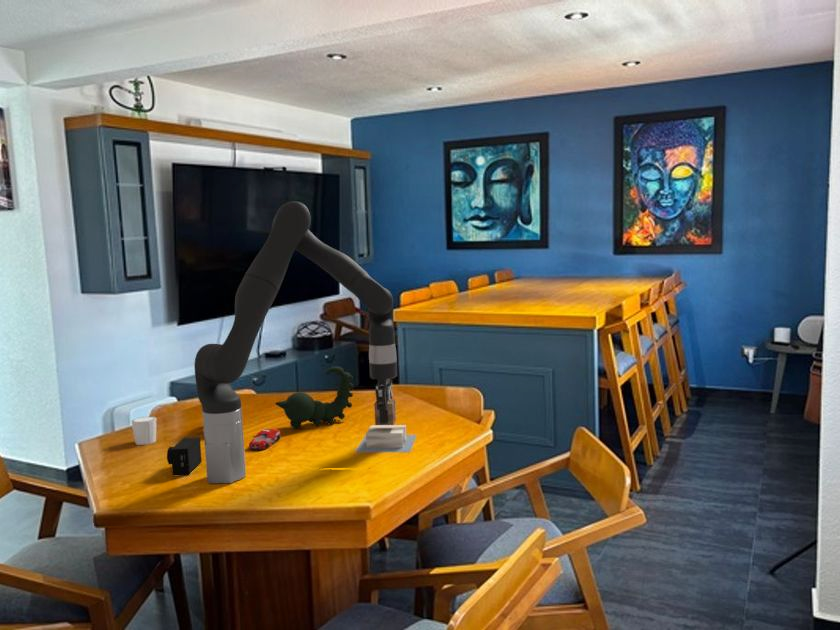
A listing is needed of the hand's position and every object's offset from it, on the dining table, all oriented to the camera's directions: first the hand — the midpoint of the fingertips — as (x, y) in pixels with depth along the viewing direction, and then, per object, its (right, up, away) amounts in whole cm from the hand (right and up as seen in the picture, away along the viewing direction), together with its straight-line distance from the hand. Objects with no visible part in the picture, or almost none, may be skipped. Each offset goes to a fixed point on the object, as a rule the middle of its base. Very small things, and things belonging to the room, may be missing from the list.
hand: (385, 420), depth 193 cm
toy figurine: (-23, -5, +25) cm, 35 cm away
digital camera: (-51, -11, -13) cm, 54 cm away
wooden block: (0, -6, +1) cm, 6 cm away
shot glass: (-72, -9, +13) cm, 73 cm away
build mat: (0, -7, +1) cm, 7 cm away
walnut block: (0, -1, 0) cm, 1 cm away
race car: (-35, -8, +7) cm, 36 cm away
